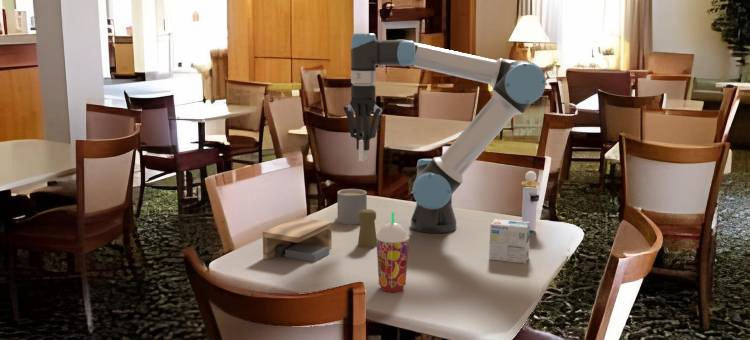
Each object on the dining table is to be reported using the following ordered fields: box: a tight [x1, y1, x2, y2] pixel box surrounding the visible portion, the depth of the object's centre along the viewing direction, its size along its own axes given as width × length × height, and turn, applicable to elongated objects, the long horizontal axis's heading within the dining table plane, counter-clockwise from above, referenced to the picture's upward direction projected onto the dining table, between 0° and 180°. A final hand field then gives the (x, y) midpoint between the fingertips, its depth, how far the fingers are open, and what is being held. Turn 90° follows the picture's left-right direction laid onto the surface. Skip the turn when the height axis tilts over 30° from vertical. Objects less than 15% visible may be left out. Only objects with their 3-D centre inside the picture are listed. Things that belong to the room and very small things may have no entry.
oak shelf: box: [262, 216, 333, 260], centre depth 211 cm, size 12×18×8 cm, turn 153°
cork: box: [357, 208, 377, 249], centre depth 219 cm, size 6×6×11 cm
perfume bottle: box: [521, 170, 541, 232], centre depth 235 cm, size 6×6×20 cm
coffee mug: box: [337, 188, 368, 225], centre depth 249 cm, size 13×10×10 cm
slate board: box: [284, 243, 330, 262], centre depth 210 cm, size 10×8×2 cm
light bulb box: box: [488, 218, 531, 264], centre depth 207 cm, size 11×7×11 cm, turn 71°
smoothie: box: [376, 211, 410, 293], centre depth 182 cm, size 8×8×20 cm
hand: (362, 160), depth 225 cm, fingers closed
